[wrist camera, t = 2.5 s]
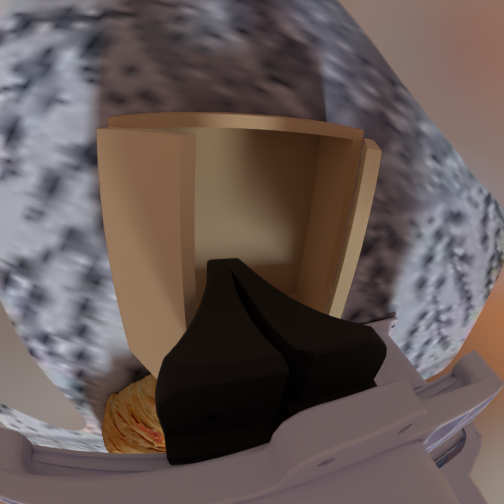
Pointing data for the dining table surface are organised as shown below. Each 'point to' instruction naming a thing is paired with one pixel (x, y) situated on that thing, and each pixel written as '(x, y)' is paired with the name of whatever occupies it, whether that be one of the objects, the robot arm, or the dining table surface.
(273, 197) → the carton
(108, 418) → the croissant
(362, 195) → the flap
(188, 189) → the flap
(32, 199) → the dining table surface
